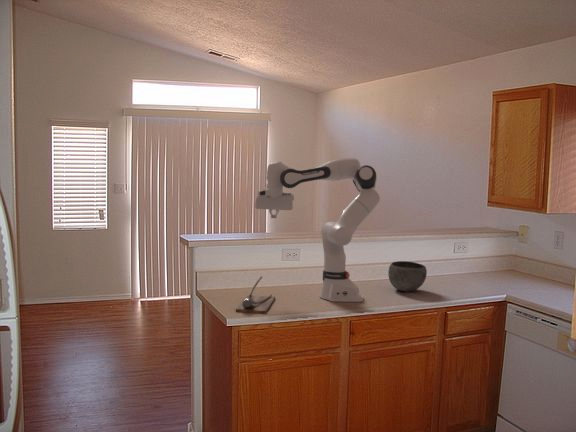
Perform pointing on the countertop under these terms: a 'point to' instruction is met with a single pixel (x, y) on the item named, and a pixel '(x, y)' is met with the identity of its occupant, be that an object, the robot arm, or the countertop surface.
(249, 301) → the juicer
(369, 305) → the countertop surface
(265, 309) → the rest board
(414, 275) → the bowl
